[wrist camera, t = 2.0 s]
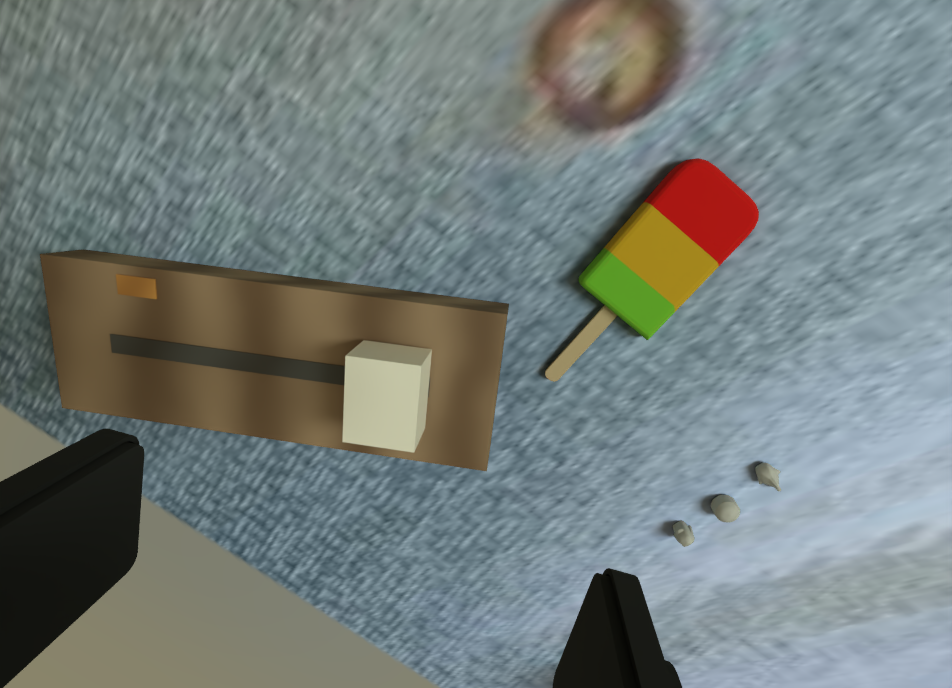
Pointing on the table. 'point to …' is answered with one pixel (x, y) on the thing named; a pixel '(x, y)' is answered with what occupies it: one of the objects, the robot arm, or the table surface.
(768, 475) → the game pieces
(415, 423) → the fader knob
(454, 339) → the console
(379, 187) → the table surface
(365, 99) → the table surface
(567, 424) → the table surface
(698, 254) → the popsicle
